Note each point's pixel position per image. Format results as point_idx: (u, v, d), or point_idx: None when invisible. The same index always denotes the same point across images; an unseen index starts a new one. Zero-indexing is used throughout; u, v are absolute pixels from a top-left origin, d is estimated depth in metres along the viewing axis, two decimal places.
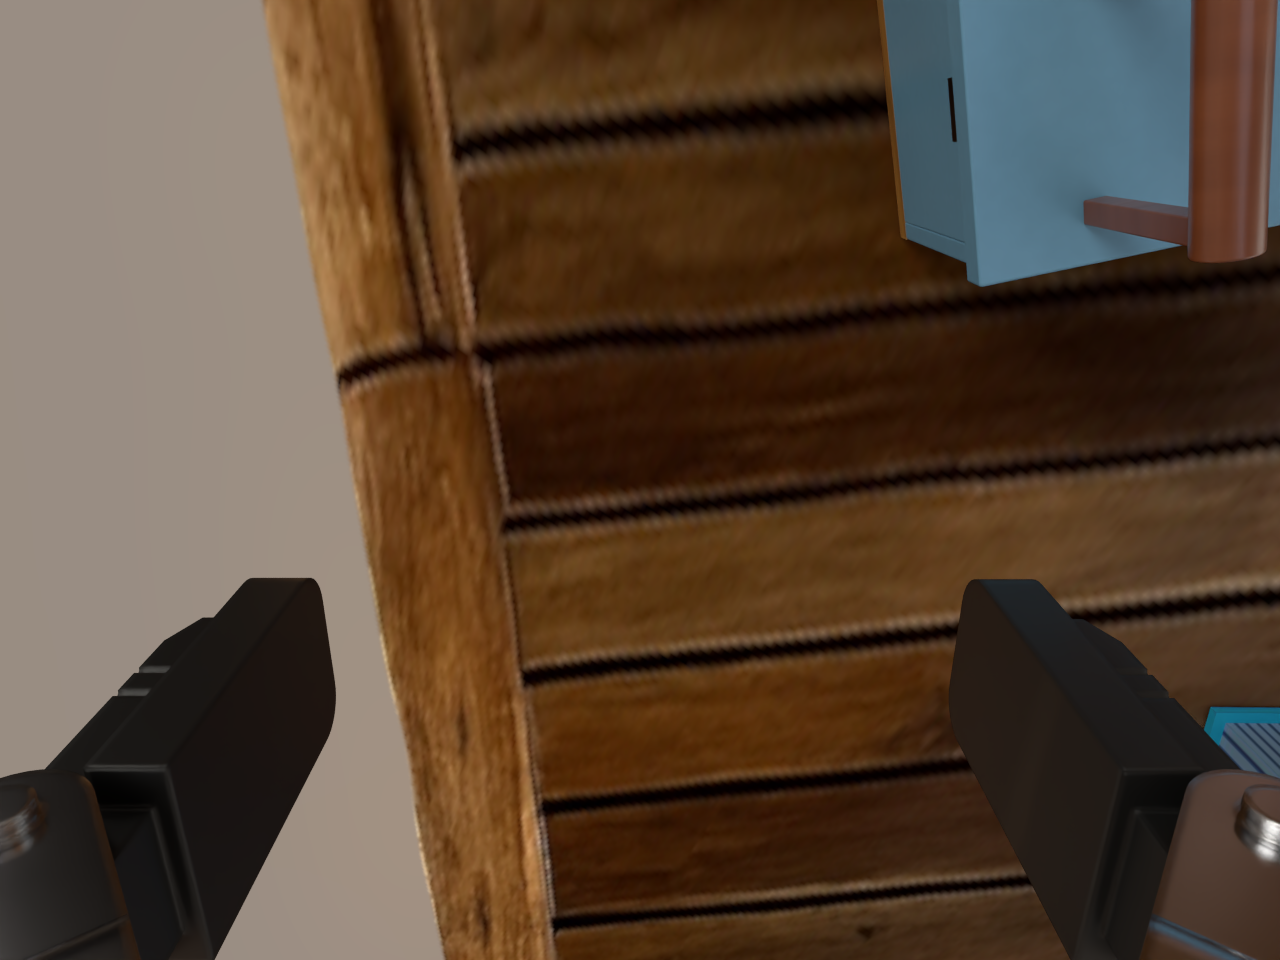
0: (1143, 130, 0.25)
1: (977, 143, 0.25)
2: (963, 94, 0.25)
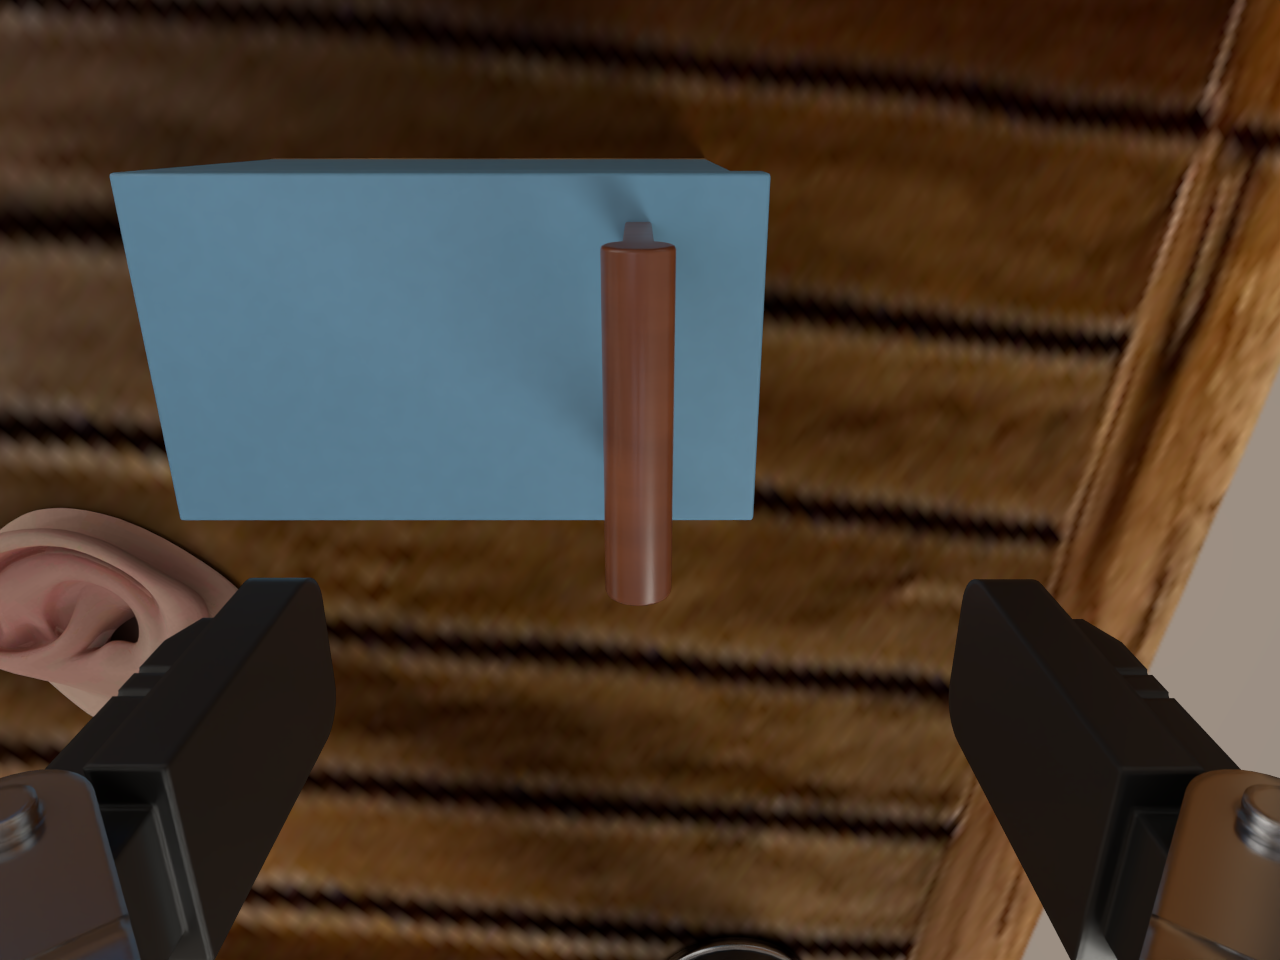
0: (587, 307, 0.24)
1: (754, 330, 0.24)
2: (759, 375, 0.25)
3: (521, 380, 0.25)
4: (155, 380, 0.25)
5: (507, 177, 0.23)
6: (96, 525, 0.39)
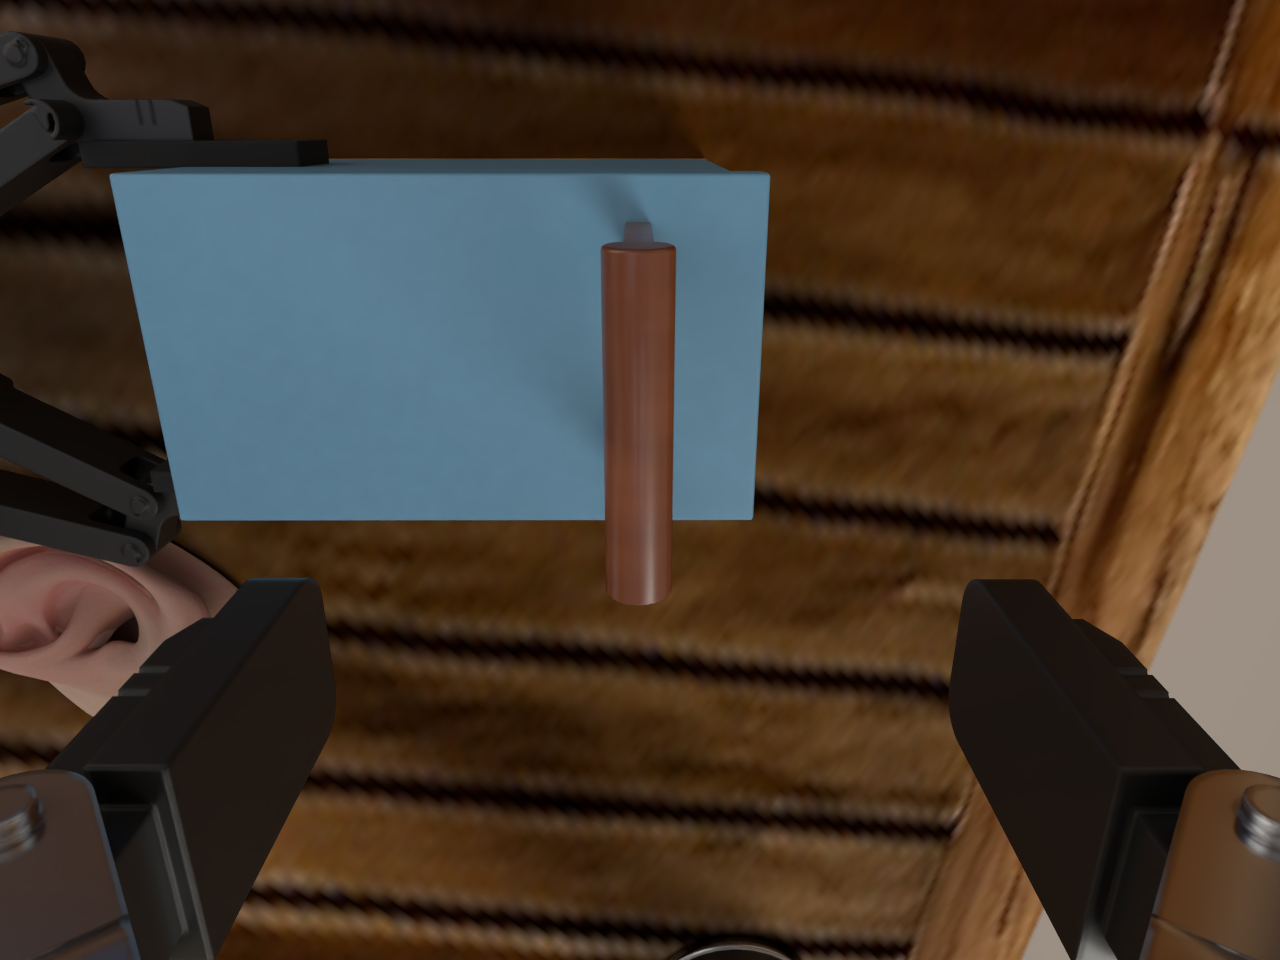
0: (587, 307, 0.24)
1: (754, 330, 0.24)
2: (759, 375, 0.25)
3: (521, 380, 0.25)
4: (155, 381, 0.25)
5: (507, 177, 0.23)
6: None
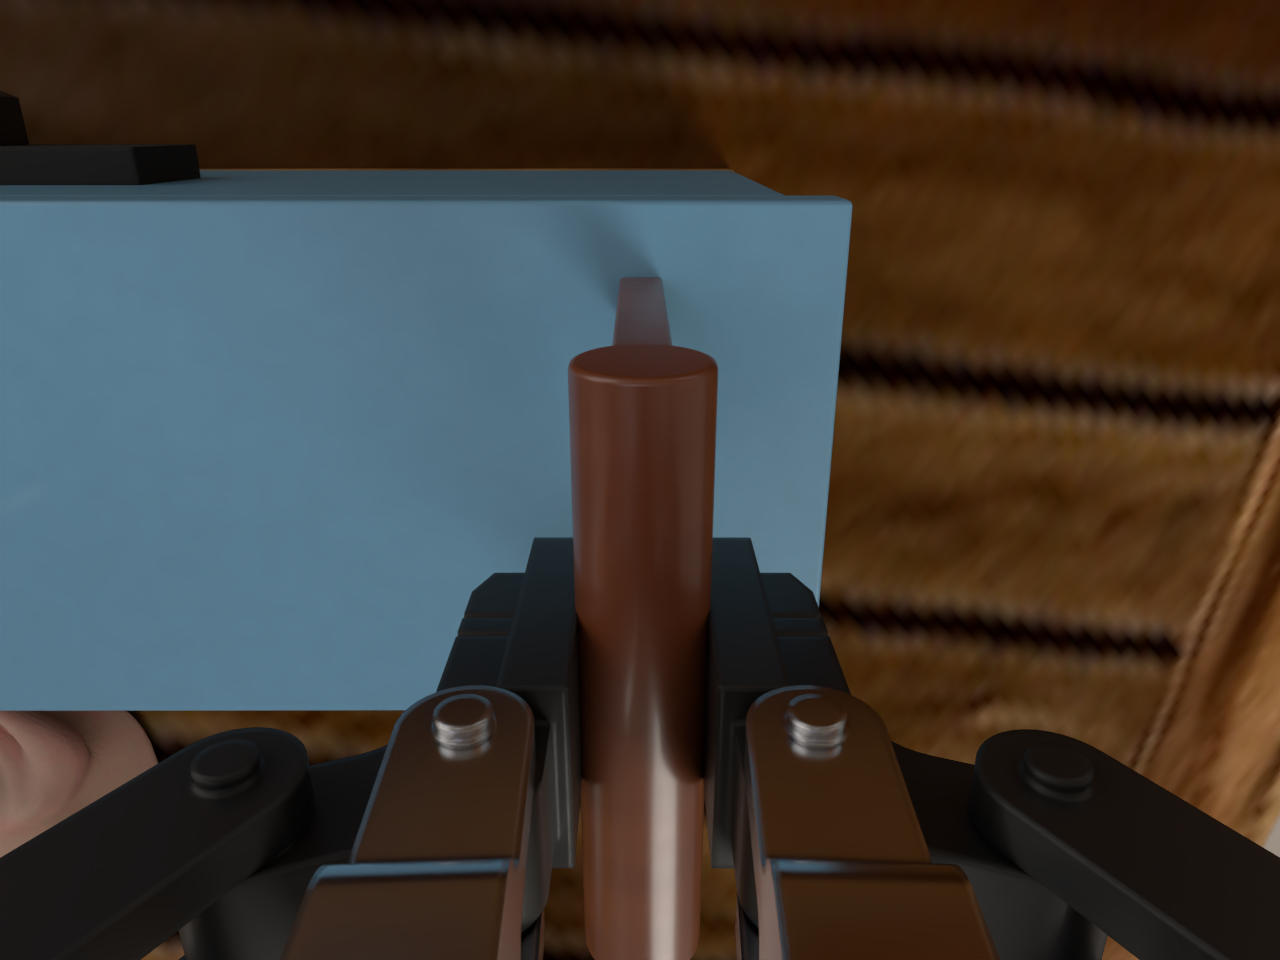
0: (562, 408, 0.16)
1: (821, 441, 0.16)
2: (826, 506, 0.16)
3: (461, 515, 0.16)
4: None
5: (430, 207, 0.14)
6: None
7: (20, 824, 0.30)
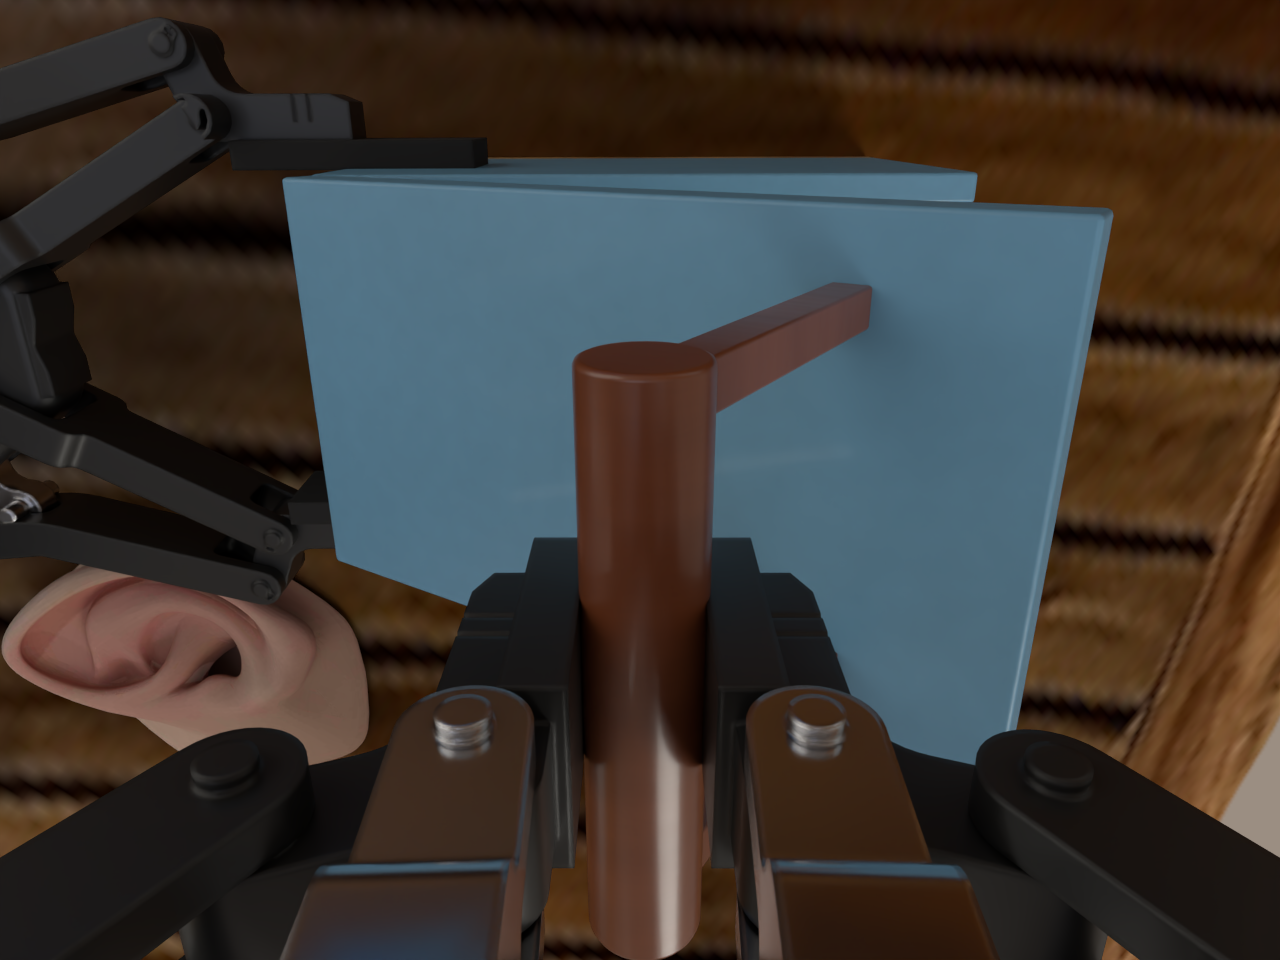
0: (765, 406, 0.16)
1: (1038, 491, 0.14)
2: (1041, 567, 0.14)
3: None
4: (317, 409, 0.22)
5: (669, 201, 0.15)
6: None
7: (261, 705, 0.36)
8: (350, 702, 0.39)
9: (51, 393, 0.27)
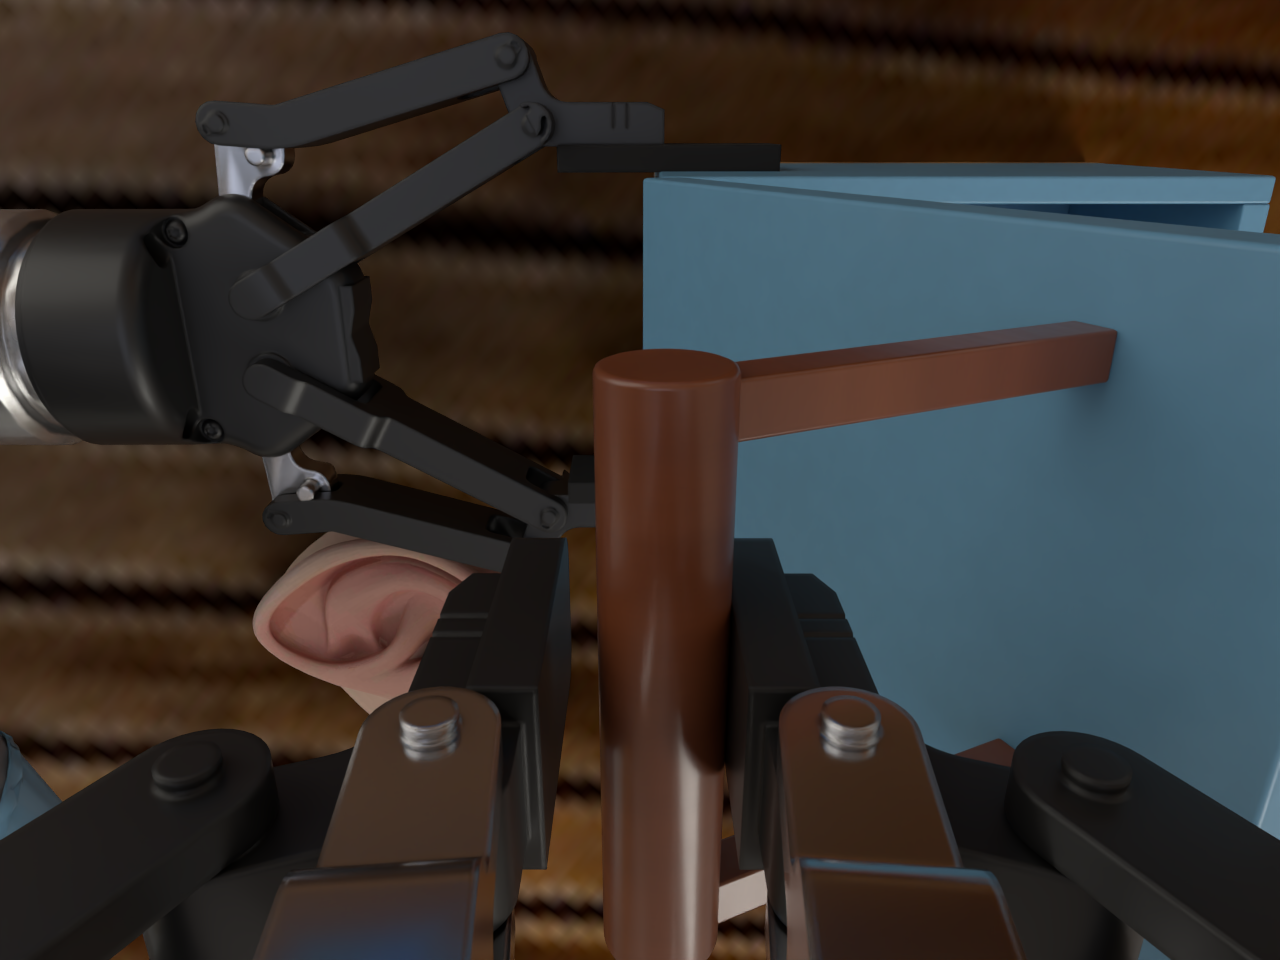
0: (990, 455, 0.14)
1: None
2: None
3: (892, 530, 0.16)
4: None
5: (925, 215, 0.14)
6: None
7: None
8: None
9: (359, 379, 0.29)
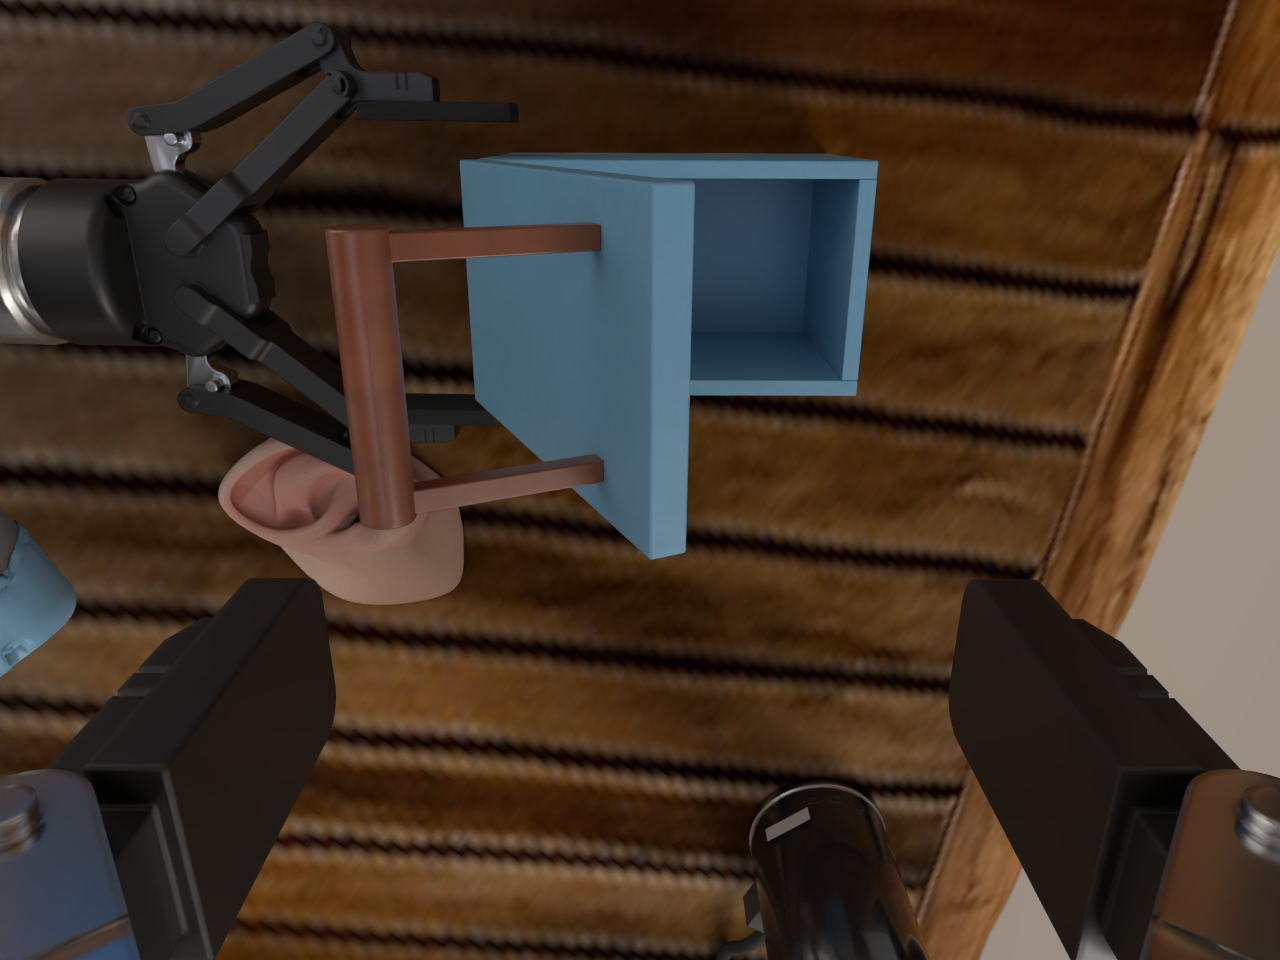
0: (578, 298, 0.26)
1: (648, 353, 0.22)
2: (658, 405, 0.23)
3: (557, 353, 0.28)
4: (469, 301, 0.37)
5: (551, 174, 0.26)
6: None
7: (393, 543, 0.51)
8: (451, 550, 0.53)
9: (257, 300, 0.41)
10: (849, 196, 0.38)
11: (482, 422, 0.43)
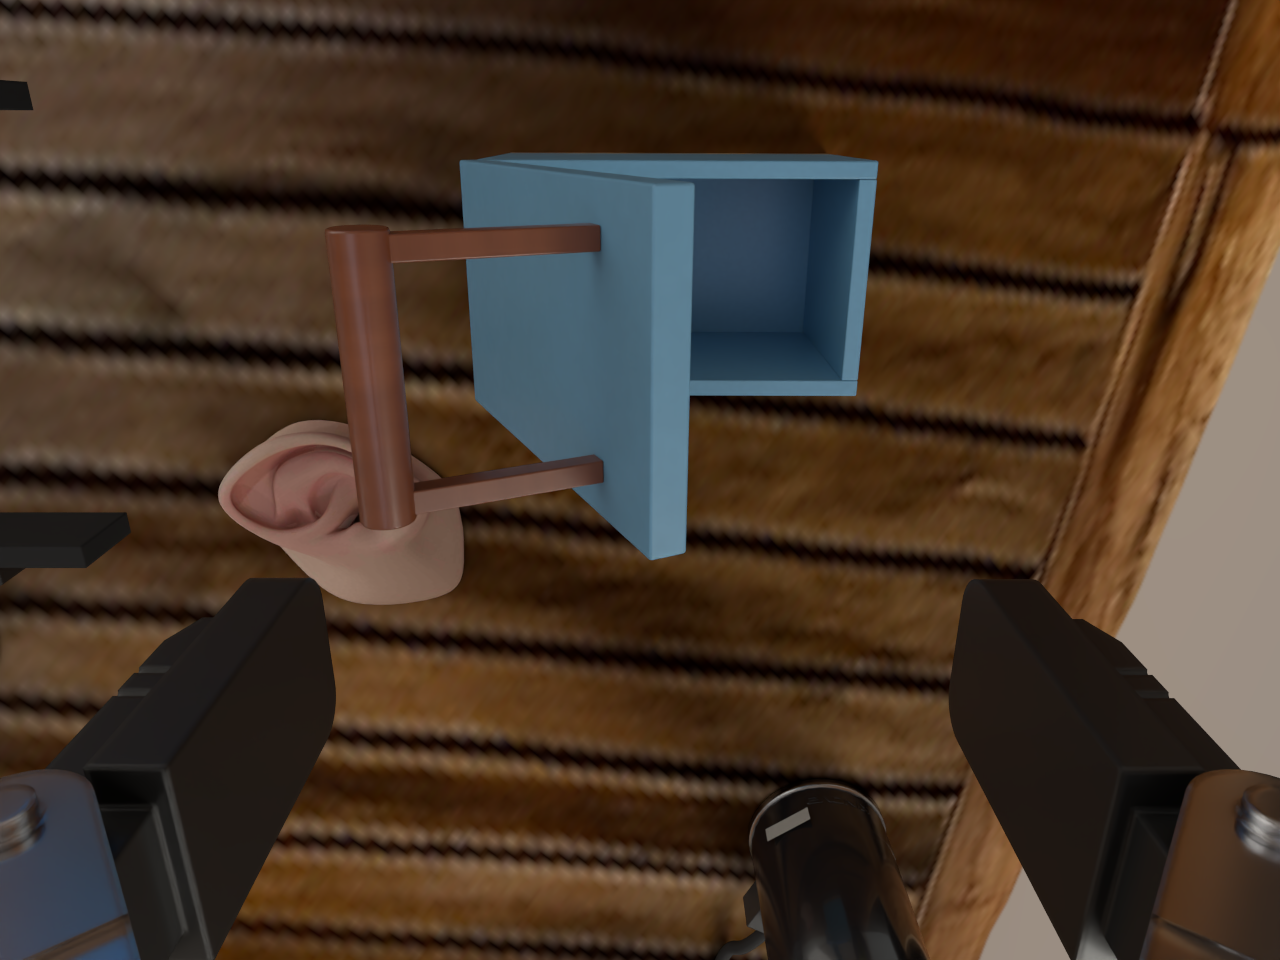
0: (578, 299, 0.26)
1: (648, 353, 0.22)
2: (658, 406, 0.23)
3: (557, 353, 0.28)
4: (469, 301, 0.37)
5: (551, 174, 0.26)
6: (346, 433, 0.51)
7: (393, 543, 0.51)
8: (451, 550, 0.53)
9: None
10: (849, 196, 0.38)
11: (28, 564, 0.29)
